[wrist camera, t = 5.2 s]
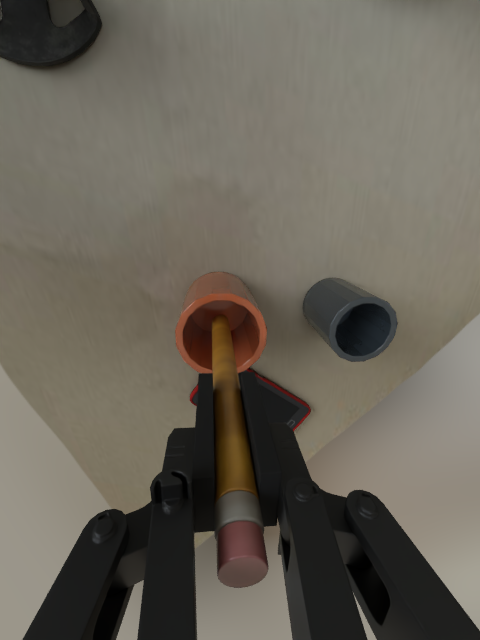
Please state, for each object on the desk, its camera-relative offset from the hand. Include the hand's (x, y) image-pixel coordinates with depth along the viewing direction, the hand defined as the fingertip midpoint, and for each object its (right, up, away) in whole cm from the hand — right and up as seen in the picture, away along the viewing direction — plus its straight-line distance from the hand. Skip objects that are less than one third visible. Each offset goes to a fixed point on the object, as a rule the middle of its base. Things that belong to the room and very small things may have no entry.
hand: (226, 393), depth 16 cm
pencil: (-1, +4, +10) cm, 11 cm away
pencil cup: (-2, +6, +16) cm, 17 cm away
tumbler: (+11, +6, +17) cm, 22 cm away
